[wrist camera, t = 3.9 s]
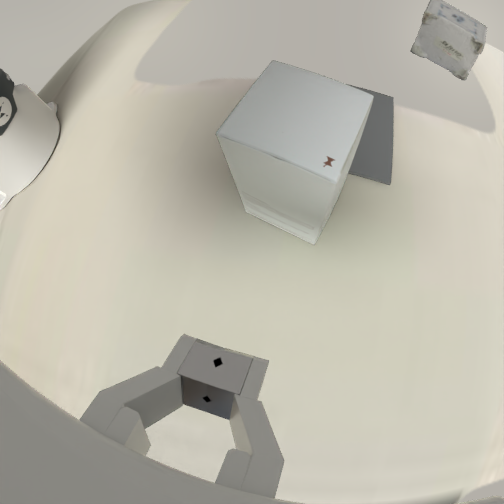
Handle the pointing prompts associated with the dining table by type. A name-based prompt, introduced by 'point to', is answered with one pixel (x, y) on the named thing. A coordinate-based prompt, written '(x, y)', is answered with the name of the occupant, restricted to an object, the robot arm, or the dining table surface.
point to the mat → (376, 141)
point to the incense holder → (450, 38)
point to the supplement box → (293, 146)
